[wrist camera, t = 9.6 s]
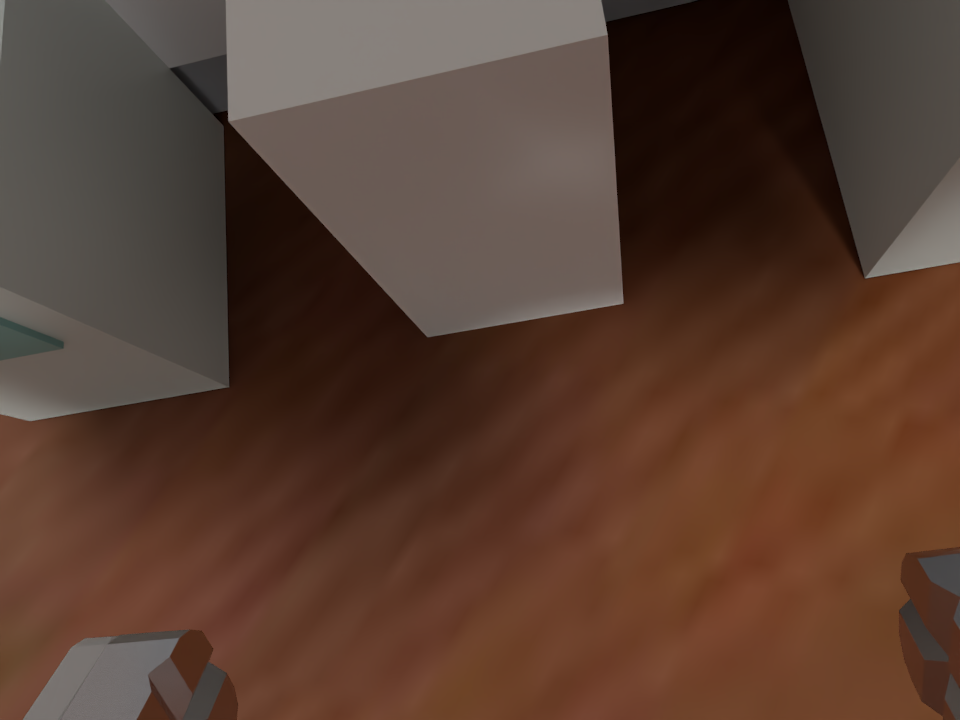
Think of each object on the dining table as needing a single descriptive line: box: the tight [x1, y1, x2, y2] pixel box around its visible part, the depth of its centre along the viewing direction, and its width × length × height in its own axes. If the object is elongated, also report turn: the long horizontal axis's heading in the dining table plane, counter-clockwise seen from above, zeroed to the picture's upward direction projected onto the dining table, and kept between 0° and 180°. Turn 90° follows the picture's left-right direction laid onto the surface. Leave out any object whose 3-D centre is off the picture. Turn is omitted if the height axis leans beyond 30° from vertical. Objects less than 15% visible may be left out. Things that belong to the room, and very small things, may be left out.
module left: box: [0, 0, 229, 421], centre depth 18 cm, size 6×8×8 cm
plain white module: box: [226, 0, 624, 337], centre depth 15 cm, size 5×6×10 cm
